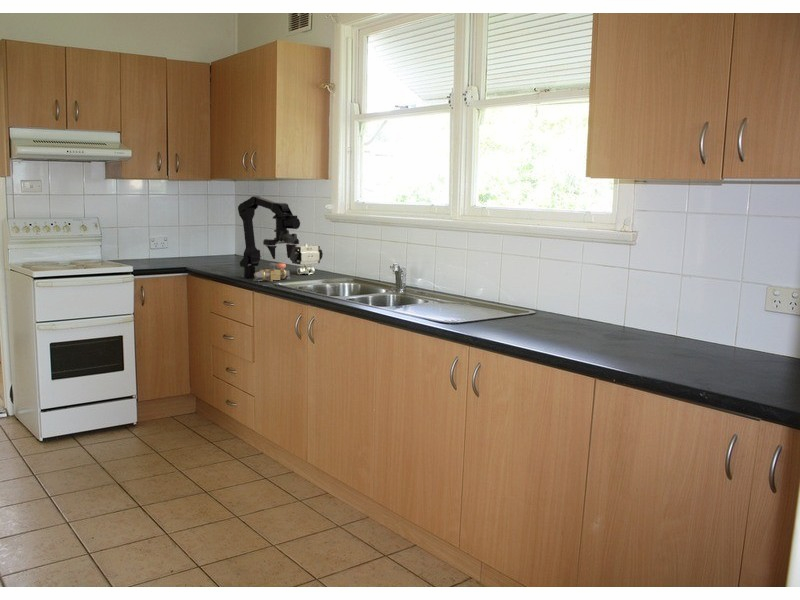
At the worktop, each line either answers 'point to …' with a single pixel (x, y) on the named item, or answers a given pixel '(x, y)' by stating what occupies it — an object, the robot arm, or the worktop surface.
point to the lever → (279, 265)
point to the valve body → (271, 275)
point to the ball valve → (306, 257)
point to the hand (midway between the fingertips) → (281, 258)
